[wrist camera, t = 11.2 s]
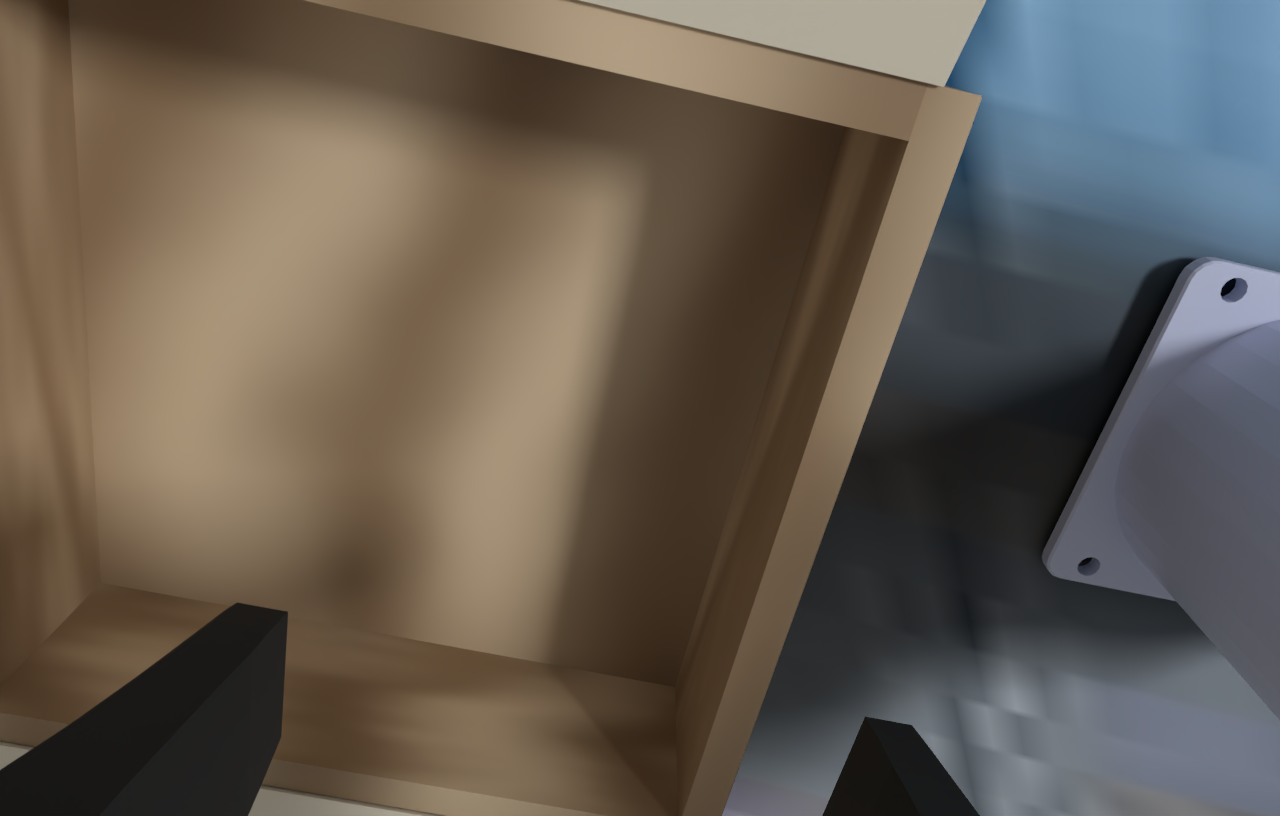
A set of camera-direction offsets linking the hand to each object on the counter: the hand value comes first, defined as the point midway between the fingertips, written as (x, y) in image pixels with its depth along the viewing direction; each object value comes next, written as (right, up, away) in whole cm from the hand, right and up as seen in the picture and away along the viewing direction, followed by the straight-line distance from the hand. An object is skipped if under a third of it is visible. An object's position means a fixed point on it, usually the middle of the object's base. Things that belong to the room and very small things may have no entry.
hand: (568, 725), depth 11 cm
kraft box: (-4, +5, +9) cm, 11 cm away
